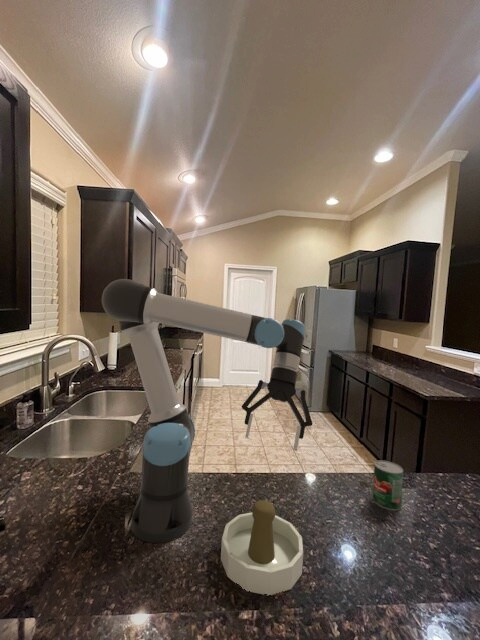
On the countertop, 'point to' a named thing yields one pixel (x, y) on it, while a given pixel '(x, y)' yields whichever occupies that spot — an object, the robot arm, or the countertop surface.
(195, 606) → the countertop surface
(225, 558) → the bowl
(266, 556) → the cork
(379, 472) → the canned tomato
